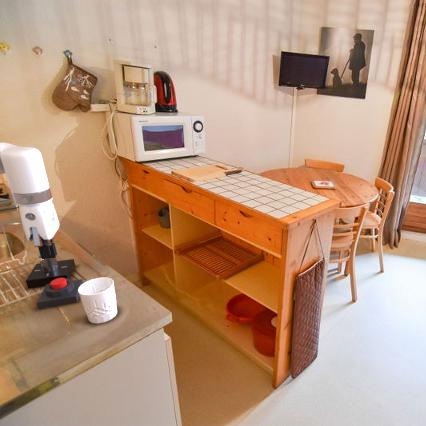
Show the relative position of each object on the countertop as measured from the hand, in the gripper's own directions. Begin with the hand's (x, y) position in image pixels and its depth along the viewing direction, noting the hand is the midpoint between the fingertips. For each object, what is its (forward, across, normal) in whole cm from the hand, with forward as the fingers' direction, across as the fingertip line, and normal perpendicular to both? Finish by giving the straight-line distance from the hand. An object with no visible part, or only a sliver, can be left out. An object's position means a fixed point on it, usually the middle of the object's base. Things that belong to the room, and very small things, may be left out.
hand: (49, 256), depth 89 cm
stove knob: (+11, +12, +4) cm, 16 cm away
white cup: (+13, -13, -13) cm, 23 cm away
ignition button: (+10, 0, -1) cm, 10 cm away
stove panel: (+14, +12, +4) cm, 19 cm away
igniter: (+13, 0, -1) cm, 14 cm away
